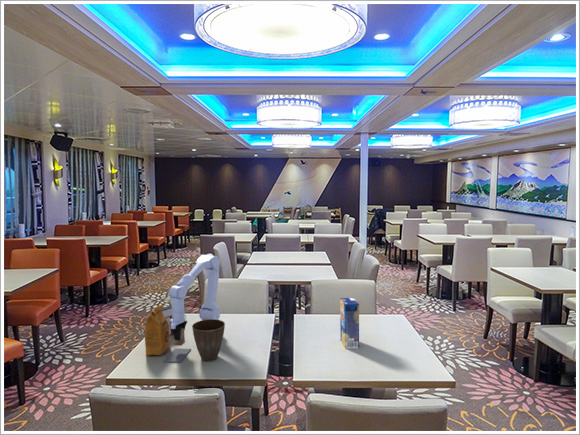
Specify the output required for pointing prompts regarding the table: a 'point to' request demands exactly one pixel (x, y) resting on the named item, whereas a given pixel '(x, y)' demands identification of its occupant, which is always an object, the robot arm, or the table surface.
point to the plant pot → (208, 338)
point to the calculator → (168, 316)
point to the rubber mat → (177, 355)
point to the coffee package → (156, 333)
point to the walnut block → (182, 339)
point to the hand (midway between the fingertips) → (179, 338)
